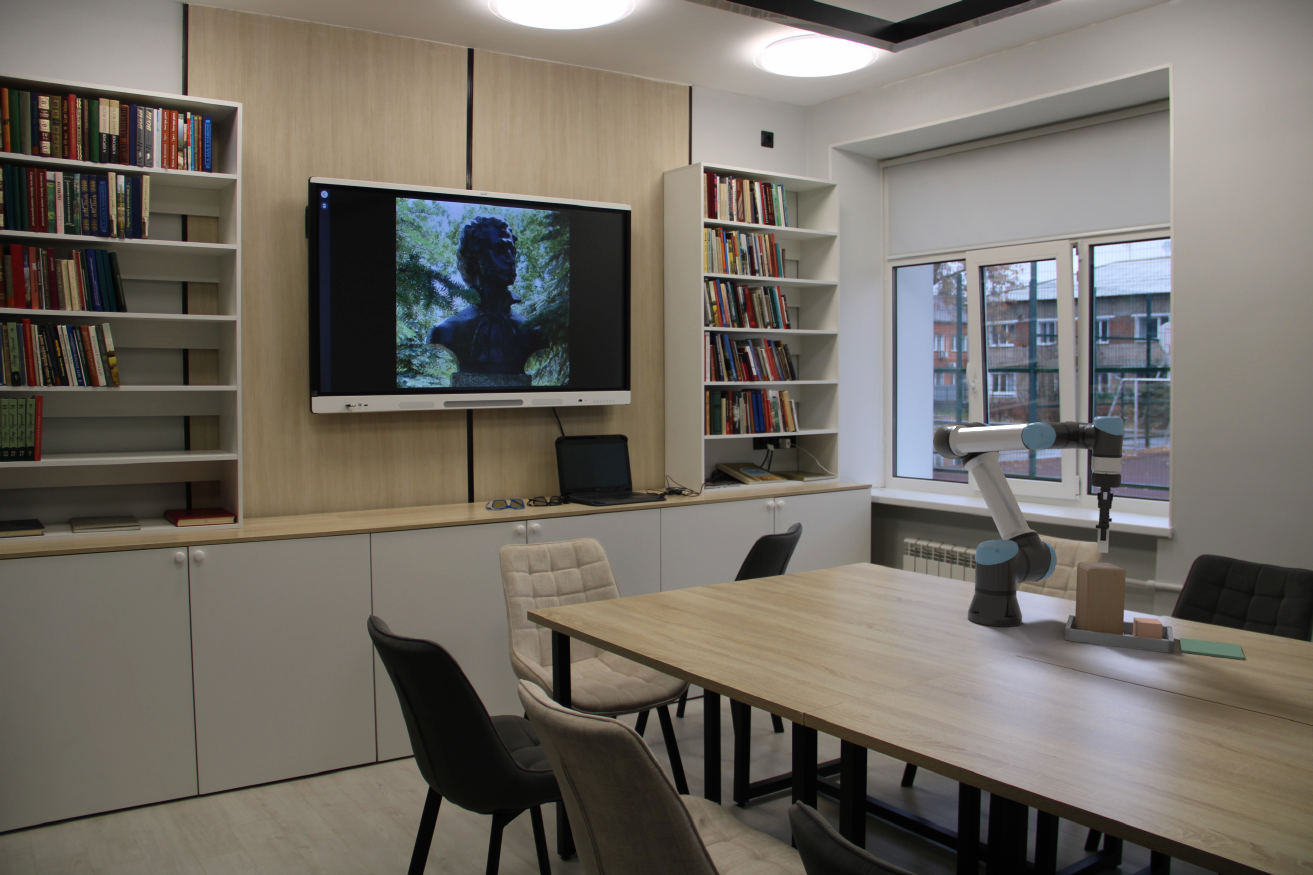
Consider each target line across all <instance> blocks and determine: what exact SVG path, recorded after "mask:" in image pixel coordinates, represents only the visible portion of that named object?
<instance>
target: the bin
mask: <svg viewBox="0 0 1313 875" xmlns="http://www.w3.org/2000/svg"><path fill="white" fill-rule="evenodd" d="M1173 631H1174V630H1173V626H1170V625H1162V639H1154V638H1145V637H1137V636H1133V621H1127V620H1126V621H1125V620H1124V625H1123V635H1119V634H1111V633H1102V632H1094V631H1085V630H1077V629H1075V615H1071V614H1069V615H1068V619H1067V622H1066V625H1065V628H1064V639H1063V640H1064V641H1071V642H1079V643H1087V644H1096V645H1103V646H1104V645H1105V646H1111V647H1120V648H1127V649H1128V648H1129V649H1134V650H1136V649H1137V650H1144V651H1153V652H1159V653H1160V652H1161V653H1166V654H1167V653H1168V654H1174V652H1175V650H1174V649H1175V638H1174V632H1173ZM1124 633H1125V634H1124ZM1127 634H1131V635H1127ZM1163 638H1166V639H1163Z"/></svg>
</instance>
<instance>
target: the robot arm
mask: <svg viewBox="0 0 1313 875" xmlns="http://www.w3.org/2000/svg"><path fill="white" fill-rule="evenodd" d="M1124 434H1125V431H1124V420H1123V418H1122V417H1119V416H1095V417H1094V418H1093V421H1092V422H1079V421H1070V420H1069V421H1067V420H1066V421H1060V422H1058V421H1057V422H1051V421H1050V422H1046V421H1037V422H1031V423H1017V424H1016V423H1015V424H1002V425H990V424H988V423H985V422H978V421H976V422H975V421H974V422H950V423H945V424H943V425H941V426H940V427H938V428H937V429H936V431H935V432H934V434H933V438H932V444H933V445H932V446H933V448H934V450H935V452H936V453H938V455H939V456H940V457H942V458H945V459H948V460H960V462H961V463H962V465H963V467H964V470H966V471H968V472H971V473H972V475H973V477H974V479H975V483H976V484H977V486H978V489H979V491H980V493H981V496H982V497H983V500H984V502H985V503H986V504H985V505H986V506H987V509H988V511H989V513H990V515H991V517H992V519H993V522H994V524H995V526H996V528H997V530H998V533H999V535H1000V537H1001V539H990V540H984V541H982V542H980V543H979V544H978V545H977V546H976V549H975V550H976V551H975V556H974V560H975V561H974V565H975V566H974V567H975V568H974V594H973V596H972V599H971V602H970V605H969V607H968V610H967V619H968V620H969V621H970V622H972V623H975V624H978V625H986V626H990V627H1017V626H1019V625H1022V623H1023V614H1022V611H1021V608H1020V604H1019V601H1018V598H1017V597H1018V596H1017V589H1018V588H1017V587H1018V586H1017V585H1018V584H1023V583H1030V582H1031V583H1035V582H1039V581H1043V580H1046V579H1048V578H1050V577H1051V576H1052V575H1053V574H1054V572H1055V570H1056V566H1057V564H1058V563H1057V562H1058V560H1057V559H1058V557H1057V552H1056V551H1055V548H1054V547H1053V546H1052V545H1051V544H1050V543H1048V542H1047V541H1043V540H1041V538H1040V536H1039V534H1038V531H1037V530H1034V529H1031V528H1030V527H1029V524H1028V522H1027V520H1026V518H1025V516H1024V514H1023V512H1022V510H1021V508H1020V506H1019V503H1018V500H1017V499H1016V497H1015V494H1014V493H1013V490H1012V489H1011V486H1010V484H1009V482H1008V480H1007V478H1006V476H1005V474H1004V471H1003V469H1002V468H1001V464H1000V463H999V459H1000V457H1001V453H1000V452H1008V451H1009V452H1010V451H1011V452H1012V451H1030V450H1031V451H1032V450H1033V451H1041V450H1042V451H1044V450H1065V449H1067V450H1068V449H1071V450H1072V449H1073V450H1074V449H1076V450H1077V449H1079V450H1080V449H1082V450H1092V452H1091V454H1092V455H1091V468H1090V469H1091V471H1093V472H1091V474H1090V485H1091V486H1092V487H1096V488H1100V489H1099V490H1100V491H1099V492H1097V496H1096V498H1097V508H1098V509H1099V517H1098V523H1097V524H1096V525H1095V529H1097V543H1096V544H1097V546H1096V552H1097V553H1100V554H1101V553H1102V554H1109V544H1110V543H1109V539H1110V538H1109V537H1110V523H1112V522H1113V518H1111V517H1110V510H1111V509H1112V504H1113V501H1114V493H1113V492H1111V491H1112V489H1113V488H1115V489H1117V488H1121V486H1122V474H1121V472H1122V465H1124V464H1125V461H1124V460H1122V459H1123V445H1124ZM1111 488H1112V489H1111Z"/></svg>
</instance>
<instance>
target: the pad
mask: <svg viewBox="0 0 1313 875" xmlns="http://www.w3.org/2000/svg"><path fill="white" fill-rule="evenodd" d="M1179 644H1180V650H1181V653H1184V654H1194V655H1200V656H1206V657H1207V656H1209V657H1215V658H1217V657H1218V658H1225V659H1233V660H1242V661H1245V655H1244V652H1243V651H1242V650H1243V649H1242V648H1241V646H1240V644H1236V643H1229V642H1228V643H1227V642H1221V641H1220V642H1219V641H1210V640H1203V639H1193V638H1184V637H1179Z"/></svg>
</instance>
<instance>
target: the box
mask: <svg viewBox="0 0 1313 875" xmlns="http://www.w3.org/2000/svg"><path fill="white" fill-rule="evenodd" d="M1132 622H1133V634H1132V636H1137V637H1145V638H1154V639H1162V640H1163V637H1162V626H1164V625H1163V623H1162V622H1161V621H1160V620H1159V619H1158V618H1151V617H1150V618H1149V617H1134V616H1133V621H1132Z"/></svg>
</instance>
